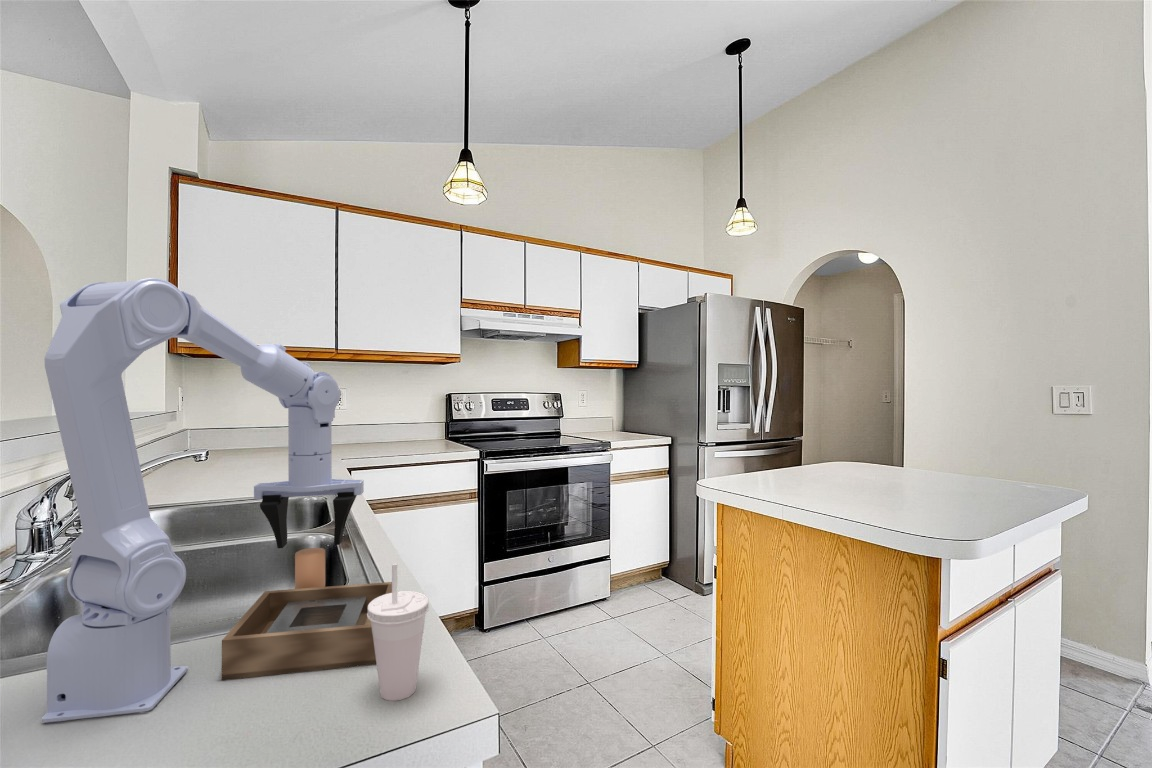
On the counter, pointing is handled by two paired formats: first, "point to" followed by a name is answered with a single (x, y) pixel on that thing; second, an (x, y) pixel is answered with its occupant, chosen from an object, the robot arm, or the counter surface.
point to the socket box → (298, 636)
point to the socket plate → (321, 614)
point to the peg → (310, 568)
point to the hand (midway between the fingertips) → (310, 544)
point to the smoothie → (397, 639)
